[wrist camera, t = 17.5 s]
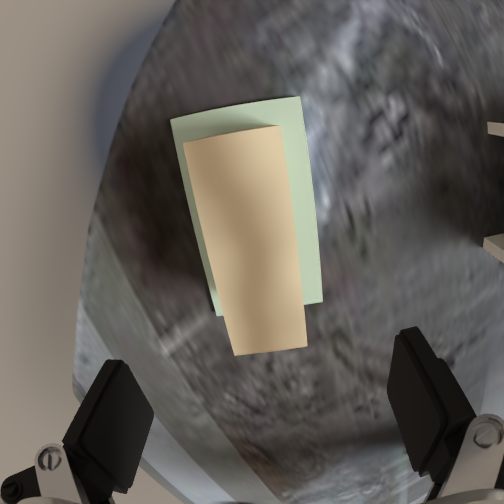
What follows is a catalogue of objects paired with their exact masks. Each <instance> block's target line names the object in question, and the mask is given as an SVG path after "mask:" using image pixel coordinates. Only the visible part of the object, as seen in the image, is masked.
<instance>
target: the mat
mask: <svg viewBox="0 0 504 504" xmlns="http://www.w3.org/2000/svg"><path fill="white" fill-rule="evenodd" d="M170 121H171V126H172V131H173V136H174V141H175V146H176V151H177V156H178V160H179V165H180V170H181V174H182V179H183V183H184V188H185V192H186V197H187V201H188V205H189V210H190V214H191V218H192V222H193V226H194V231H195V235H196V239H197V243H198V247H199V251H200V255H201V259H202V263H203V266H204V270H205V274H206V278H207V282H208V285H209V289H210V293H211V296H212V300H213V304H214V307H215V311H216V315H217V316H223V312H222V308H221V304H220V300H219V296H218V293H217V289H216V285H215V281H214V277H213V273H212V269H211V265H210V261H209V257H208V253H207V249H206V245H205V241H204V237H203V232H202V228H201V224H200V220H199V215H198V211H197V207H196V202H195V198H194V193H193V189H192V184H191V180H190V175H189V171H188V166H187V161H186V156H185V152H184V147H183V143H185V142H188V141H192V140H195V139H199V138H203V137H206V136H211V135H216V134H221V133H226V132H232V131H237V130H243V129H249V128H255V127H262V126H268V125H280V127H281V133H282V139H283V145H284V152H285V158H286V165H287V172H288V179H289V186H290V193H291V200H292V208H293V215H294V223H295V231H296V239H297V247H298V256H299V265H300V274H301V283H302V293H303V303H304V305H305V304H312V303H318V302H323V299H322V283H321V269H320V256H319V244H318V233H317V222H316V212H315V203H314V194H313V185H312V177H311V169H310V161H309V154H308V147H307V140H306V133H305V126H304V120H303V113H302V107H301V101H300V96H299V97H289V98H281V99H273V100H266V101H259V102H253V103H247V104H241V105H235V106H229V107H224V108H219V109H214V110H209V111H204V112H200V113H195V114H191V115H187V116H182V117H178V118H174V119H170Z"/></svg>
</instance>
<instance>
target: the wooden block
mask: <svg viewBox="0 0 504 504" xmlns="http://www.w3.org/2000/svg"><path fill="white" fill-rule="evenodd" d="M183 147H184V152H185V156H186V161H187V166H188V171H189V175H190V180H191V184H192V189H193V193H194V198H195V202H196V207H197V211H198V215H199V220H200V224H201V228H202V232H203V237H204V241H205V245H206V249H207V253H208V257H209V261H210V265H211V269H212V273H213V277H214V281H215V285H216V289H217V293H218V296H219V300H220V304H221V308H222V312H223V315H224V319H225V323H226V326H227V330H228V334H229V337H230V341H231V344H232V348H233V352H234V355H244V354H253V353H262V352H270V351H278V350H285V349H292V348H299V347H306V346H307V335H306V324H305V313H304V303H303V293H302V283H301V274H300V265H299V256H298V247H297V239H296V231H295V223H294V215H293V208H292V200H291V193H290V186H289V179H288V172H287V165H286V158H285V152H284V145H283V139H282V133H281V127H280V125H268V126H262V127H255V128H249V129H243V130H237V131H232V132H226V133H221V134H216V135H211V136H206V137H203V138H199V139H195V140H192V141H188V142H185V143H183Z"/></svg>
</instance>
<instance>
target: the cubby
mask: <svg viewBox="0 0 504 504" xmlns="http://www.w3.org/2000/svg"><path fill="white" fill-rule="evenodd" d="M487 127H488V134H493V135H498V136H503V137H504V123H495V122H487ZM483 248H484V249H485V250H487V251H488V252H489V253H491V254H492V255H493V256H495V257H496V258H497V259H499V260H500V261H501V262H503V263H504V234H499V235H494V236H489V237H484V243H483Z"/></svg>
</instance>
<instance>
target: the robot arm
mask: <svg viewBox="0 0 504 504" xmlns="http://www.w3.org/2000/svg"><path fill="white" fill-rule="evenodd" d="M387 395H388V398H389V401H390V404H391V407H392V409H393V412H394V415H395V418H396V421H397V423H398V426H399V429H400V432H401V435H402V438H403V441H404V444H405V447H406V450H407V453H408V456H409V459H410V462H411V466H412V469H413V470H414V471H415V472H416V471H418V472H419V475H420V477H423V476H426V475H428V477H429V480H430V483H431V488H430V490H429V492H428V494H427V496H426V498H425V500H424V502H423V503H421V504H504V420H503V419H501V418H500V417H499V416H496V415H494V414H483V415H480V416H478V417H477V416H476V414H475V412H474V410H473V409H472V407H471V405H470V403H469V401H468V400H467V398H466V396H465V394H464V392H463V391H462V389H461V387H460V386H459V384H458V382H457V380H456V379H455V377H454V375H453V374H452V372H451V370H450V369H449V367H448V365H447V364H446V362H445V361H444V360H443V359H441V358H437V357H436V355H435V353H434V352H433V350H432V348H431V347H430V345H429V344H428V342H427V340H426V339H425V337H424V336H423V334H422V333H421V331H420V330H419V328H418V327H416V326H415V327H411V328H407V329H403V330H401V331H400V333H399V335H396V336H395V341H394V349H393V355H392V362H391V368H390V374H389V380H388V385H387ZM153 418H154V412H153V409H152V407H151V406H150V404H149V402H148V400H147V399H146V397H145V395H144V394H143V392H142V390H141V388H140V386H139V385H138V383H137V381H136V379H135V377H134V376H133V374H132V372H131V370H130V368H129V366H128V365H127V364H125V363H124V362H123V361H122V360H109V359H108V360H106V361H105V363H104V364H103V366H102V368H101V370H100V371H99V373H98V375H97V377H96V378H95V380H94V382H93V384H92V386H91V387H90V389H89V391H88V393H87V395H86V396H85V398H84V400H83V402H82V404H81V406H80V407H79V409H78V411H77V413H76V415H75V417H74V419H73V421H72V422H71V424H70V427H69V428H68V430H67V433H66V434H65V436H64V438H63V440H62V442H63V443H64V445H63V447H61V446H60V445H58V444H53V443H51V444H47V445H45V446H43V447H42V448H41V449H40V450H39V451H38V452H37V454H36V457H35V465H34V466H32V467H30V468H28V469H26V470H23V471H21V472H19V473H17V474H14V475H12V476H10V477H8V478H6V479H5V481H4V482H3V484H2V486H1V494H0V504H115V502H114V500H113V498H112V492H113V491H115V492H119V493H124V494H127V491H128V488H131V486H132V484H133V481H134V478H135V475H136V471H137V468H138V465H139V462H140V458H141V455H142V452H143V449H144V446H145V443H146V440H147V436H148V433H149V430H150V427H151V424H152V421H153Z"/></svg>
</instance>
